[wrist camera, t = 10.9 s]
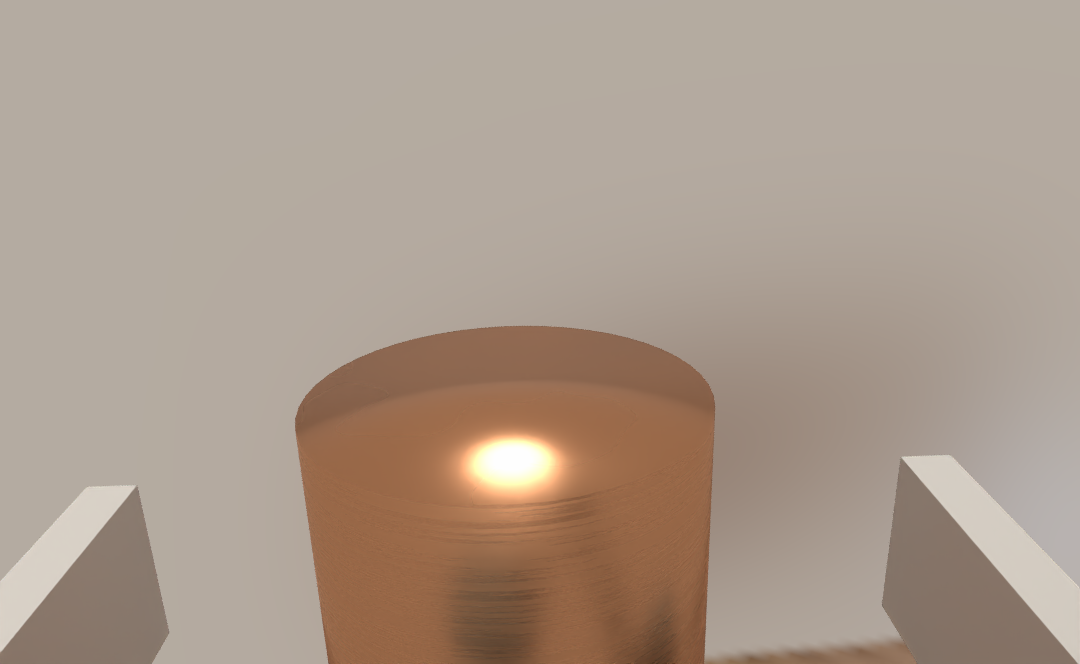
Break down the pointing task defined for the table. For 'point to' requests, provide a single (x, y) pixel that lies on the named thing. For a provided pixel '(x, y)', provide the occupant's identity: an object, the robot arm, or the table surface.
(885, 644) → the table surface
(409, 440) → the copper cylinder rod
